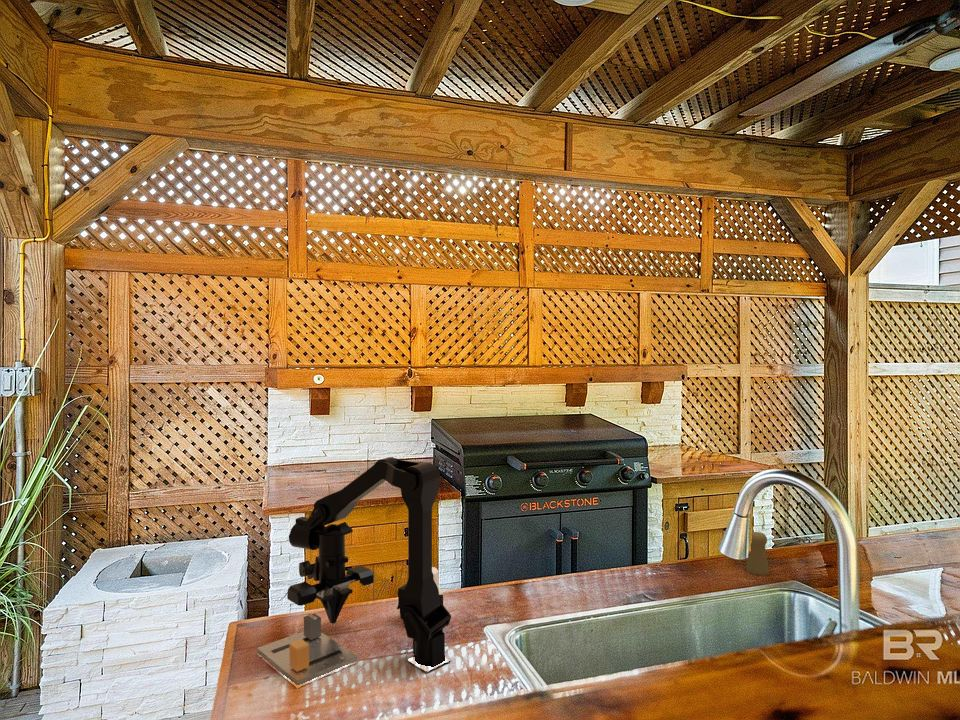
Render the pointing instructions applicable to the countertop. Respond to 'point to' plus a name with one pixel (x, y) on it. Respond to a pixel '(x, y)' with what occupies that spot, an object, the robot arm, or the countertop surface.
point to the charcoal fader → (312, 626)
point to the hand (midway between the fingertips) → (332, 622)
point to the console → (321, 657)
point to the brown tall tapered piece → (758, 555)
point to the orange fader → (299, 655)
